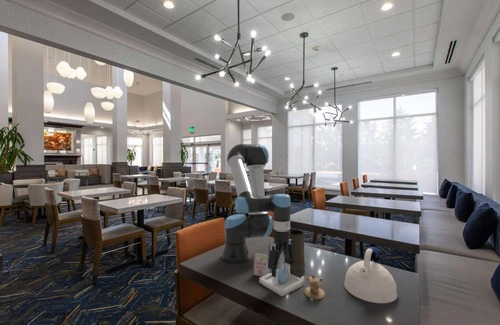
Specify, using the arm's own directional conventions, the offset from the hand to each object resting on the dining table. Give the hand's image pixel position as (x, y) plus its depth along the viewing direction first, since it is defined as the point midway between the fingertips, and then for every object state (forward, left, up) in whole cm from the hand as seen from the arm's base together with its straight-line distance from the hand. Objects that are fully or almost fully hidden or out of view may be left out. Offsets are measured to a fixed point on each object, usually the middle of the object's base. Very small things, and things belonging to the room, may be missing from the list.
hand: (281, 280), depth 109 cm
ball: (0, 0, -1) cm, 1 cm away
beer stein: (-6, +16, -2) cm, 17 cm away
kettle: (+27, +26, -2) cm, 38 cm away
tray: (0, 0, -2) cm, 2 cm away
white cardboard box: (-12, -1, -2) cm, 12 cm away
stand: (+14, +5, -2) cm, 15 cm away
